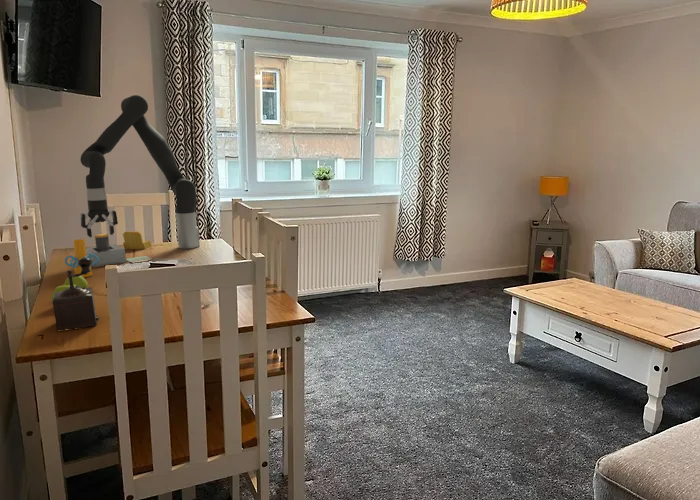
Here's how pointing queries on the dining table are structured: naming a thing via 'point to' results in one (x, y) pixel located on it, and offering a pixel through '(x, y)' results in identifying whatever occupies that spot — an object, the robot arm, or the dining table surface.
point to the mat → (137, 258)
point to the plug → (102, 242)
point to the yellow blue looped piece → (80, 256)
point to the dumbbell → (76, 282)
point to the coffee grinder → (75, 303)
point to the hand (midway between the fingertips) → (101, 235)
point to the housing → (107, 255)
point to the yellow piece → (134, 241)
